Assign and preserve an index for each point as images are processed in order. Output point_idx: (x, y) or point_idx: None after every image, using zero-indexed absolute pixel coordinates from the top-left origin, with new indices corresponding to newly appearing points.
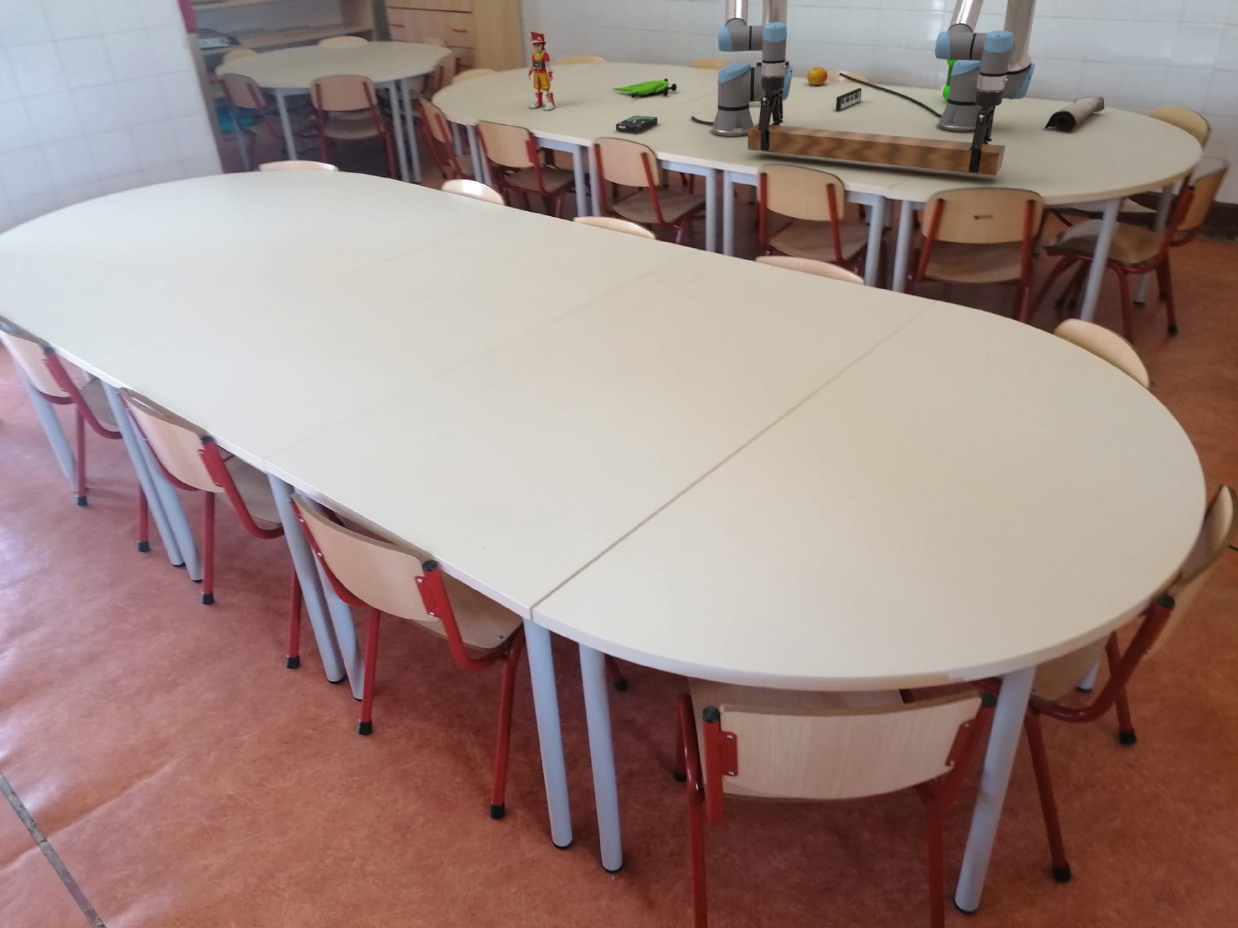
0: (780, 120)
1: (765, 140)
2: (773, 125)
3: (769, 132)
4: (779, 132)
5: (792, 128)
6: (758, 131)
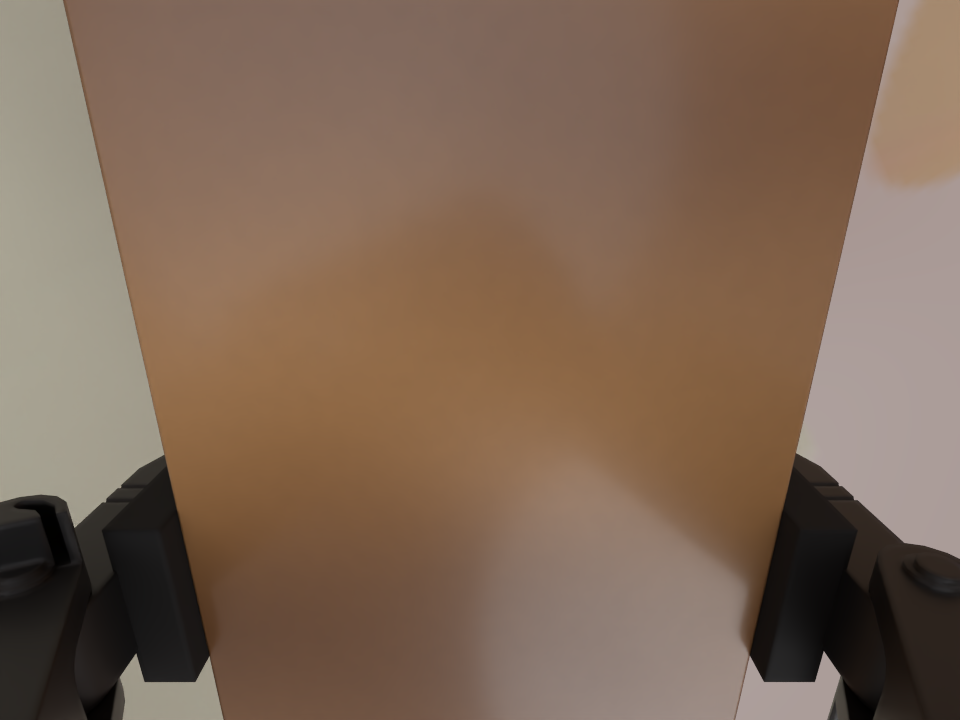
0: (10, 587)
1: (795, 459)
2: (246, 612)
3: (772, 501)
4: (837, 256)
5: (293, 40)
6: (732, 701)
